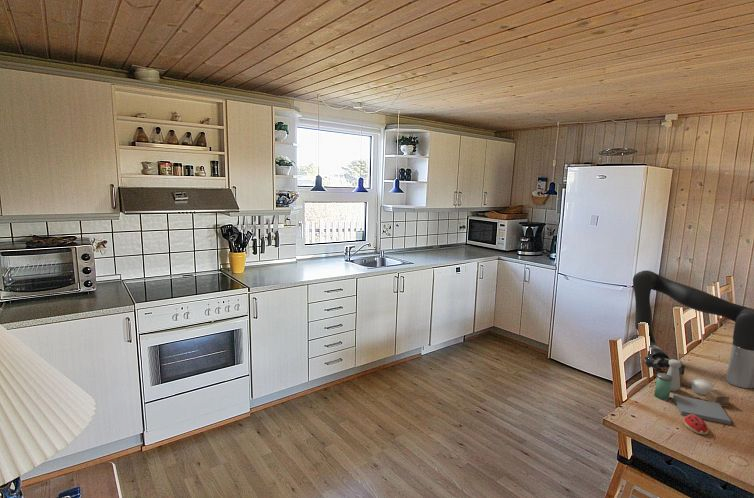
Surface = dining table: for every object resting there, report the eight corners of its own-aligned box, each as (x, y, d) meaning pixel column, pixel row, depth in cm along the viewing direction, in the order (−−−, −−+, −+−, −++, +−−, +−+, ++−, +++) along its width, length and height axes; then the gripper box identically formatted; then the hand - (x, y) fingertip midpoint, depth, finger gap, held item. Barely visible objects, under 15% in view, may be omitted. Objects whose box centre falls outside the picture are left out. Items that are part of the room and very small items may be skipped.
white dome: (709, 389, 177) (710, 380, 176) (714, 397, 170) (716, 388, 170) (689, 385, 179) (690, 377, 179) (693, 393, 173) (695, 384, 172)
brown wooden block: (718, 399, 169) (719, 390, 168) (727, 406, 164) (729, 397, 163) (705, 399, 169) (707, 390, 168) (714, 405, 164) (716, 396, 163)
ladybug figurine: (698, 421, 153) (700, 413, 153) (713, 438, 144) (715, 428, 143) (678, 419, 155) (679, 410, 154) (691, 435, 145) (693, 425, 145)
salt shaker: (676, 387, 178) (681, 358, 176) (681, 393, 173) (686, 364, 170) (660, 384, 180) (665, 356, 177) (665, 391, 174) (669, 362, 172)
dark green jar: (667, 395, 171) (670, 374, 170) (670, 401, 167) (673, 380, 165) (652, 392, 173) (655, 371, 172) (655, 398, 169) (658, 377, 167)
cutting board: (718, 406, 163) (719, 403, 163) (730, 424, 151) (731, 421, 151) (672, 398, 169) (673, 394, 169) (681, 414, 157) (681, 411, 157)
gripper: (639, 346, 193) (653, 361, 178) (674, 350, 190) (691, 365, 174) (637, 361, 195) (651, 377, 179) (672, 365, 191) (688, 382, 176)
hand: (671, 371), depth 177 cm, fingers open, 8 cm apart
